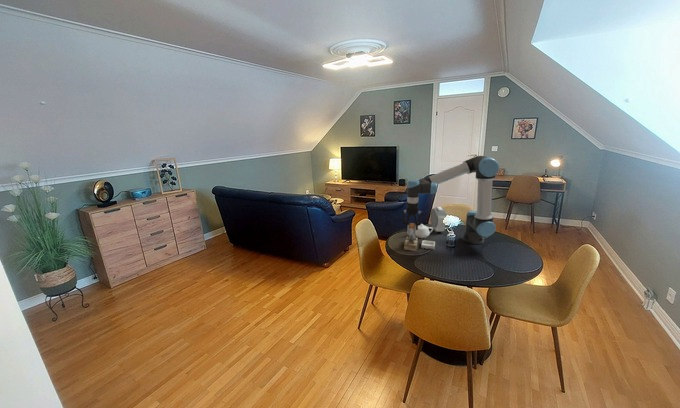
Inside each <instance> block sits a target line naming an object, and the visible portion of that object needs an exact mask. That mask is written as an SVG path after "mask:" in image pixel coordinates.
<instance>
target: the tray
mask: <svg viewBox="0 0 680 408" xmlns="http://www.w3.org/2000/svg"><path fill="white" fill-rule="evenodd" d="M421 240H422V239H421ZM435 247H436V241H433V240H425V239H424V240H422V241H421V248H420V249H424V248H425V249H426V250H433V251H435Z"/></svg>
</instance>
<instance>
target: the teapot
mask: <svg viewBox="0 0 680 408" xmlns="http://www.w3.org/2000/svg"><path fill="white" fill-rule="evenodd" d="M429 229H431V230H429ZM433 231H434V230H433V228H432V226H427V225H424V224H423V223H421V225H419V226H418V230H416V235H415V237H416V238H418V239H426V238H428V236H430V234H431V233H433Z"/></svg>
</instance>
